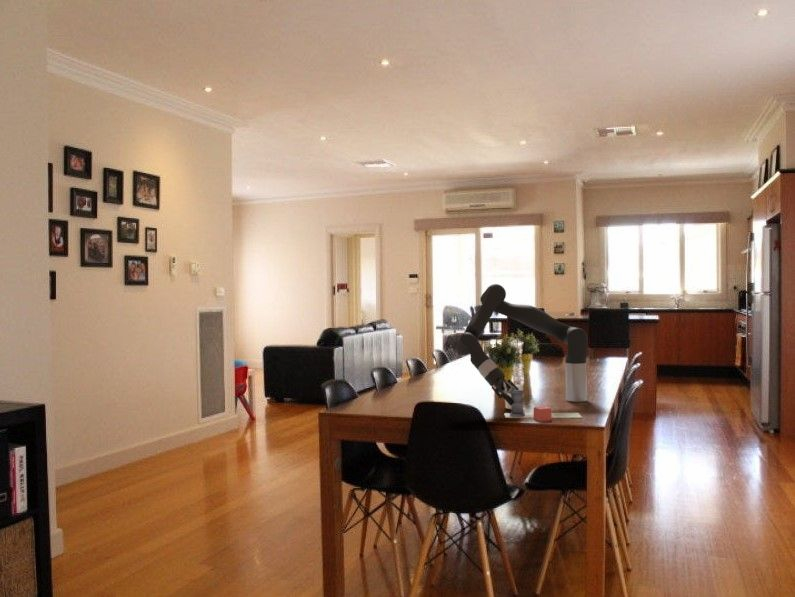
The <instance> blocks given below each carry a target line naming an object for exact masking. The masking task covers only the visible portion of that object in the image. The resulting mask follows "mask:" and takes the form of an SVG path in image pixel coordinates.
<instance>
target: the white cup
mask: <svg viewBox="0 0 795 597" xmlns="http://www.w3.org/2000/svg"><path fill="white" fill-rule="evenodd" d="M514 384H515V386H516V387H517V388H518V389H519V390H523V385H522V384H516V383H514ZM508 395H509V396H510V397H511V393H508ZM504 404H505V409H507V410H511V405H509V404H508V402H507V401H506V400H505V399H504Z"/></svg>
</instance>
